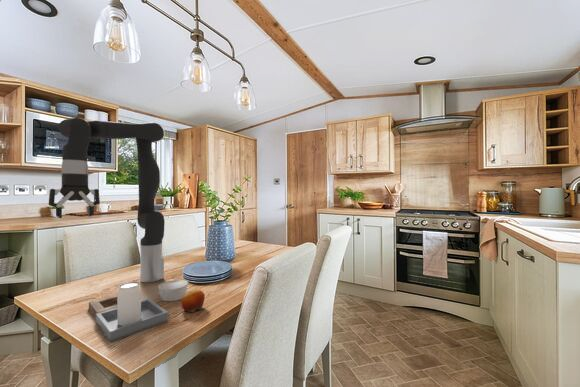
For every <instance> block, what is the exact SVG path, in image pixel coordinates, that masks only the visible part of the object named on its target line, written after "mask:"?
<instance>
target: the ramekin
mask: <svg viewBox="0 0 580 387" xmlns="http://www.w3.org/2000/svg"><path fill="white" fill-rule="evenodd" d="M188 286H189V281H187V280H186V279H185V280H184V279H173V280H168V281H163V282H162V283H160V284H158V287H157V290H158V293H159V298H160V300H161V301H163V302H175V301H179V300H180V301H181V299H182V297H183V296H184V295H185V294H186V293H188Z"/></svg>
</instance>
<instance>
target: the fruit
mask: <svg viewBox="0 0 580 387" xmlns="http://www.w3.org/2000/svg"><path fill="white" fill-rule="evenodd" d="M205 296H206V295H205V292H204V291H202V290H201V289H191V290H190V291H189V292H188V291H187V292H186V294H185V295H184V296H183V297H182V299H180V304H181V308H182V309H183V311H185V312H188V313H190V312H191V313H195V312H196V310H199V309H203V310H204V308H203V306H204V304H205V303H204V302H205V299H206V298H205Z"/></svg>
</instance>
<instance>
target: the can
mask: <svg viewBox="0 0 580 387" xmlns="http://www.w3.org/2000/svg"><path fill="white" fill-rule="evenodd" d="M116 295H117V304H116V305H117V319H118V325H120V326H124V325H127V324H130V323H133V322H136V321H139V320H140V319H141V301H142V287H141V285H140V282H139V281H128V282H124V283H121V284H119V285H118V289H117V294H116Z"/></svg>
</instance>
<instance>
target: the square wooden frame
mask: <svg viewBox="0 0 580 387" xmlns="http://www.w3.org/2000/svg"><path fill="white" fill-rule="evenodd" d="M114 308H117V294H114V295H110V296H106V297H102V298H99V299H96V300H90V301H88V309H89V311H90V312H91V314H92V315H93V316H94V318H96V314H97V313H101V312H104V311H108V310H111V309H114Z"/></svg>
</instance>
